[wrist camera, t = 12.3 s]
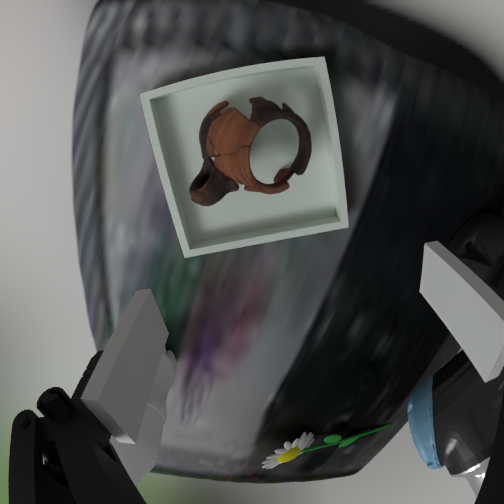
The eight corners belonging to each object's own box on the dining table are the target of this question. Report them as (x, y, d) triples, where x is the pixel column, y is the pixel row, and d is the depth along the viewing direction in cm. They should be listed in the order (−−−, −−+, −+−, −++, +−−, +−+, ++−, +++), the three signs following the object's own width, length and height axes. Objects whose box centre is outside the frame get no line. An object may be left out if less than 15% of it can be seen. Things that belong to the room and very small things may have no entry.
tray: (318, 60, 25) (324, 56, 23) (341, 219, 33) (348, 227, 30) (147, 95, 26) (139, 94, 24) (188, 247, 34) (184, 257, 31)
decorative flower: (393, 401, 53) (257, 435, 49) (402, 417, 49) (261, 456, 45) (377, 427, 59) (257, 456, 56) (384, 442, 55) (261, 474, 51)
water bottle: (166, 373, 43) (137, 519, 21) (126, 352, 41) (77, 498, 19) (187, 349, 41) (159, 516, 18) (143, 326, 39) (88, 492, 16)
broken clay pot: (231, 75, 26) (281, 76, 20) (283, 133, 32) (335, 150, 26) (152, 169, 26) (178, 197, 21) (217, 215, 33) (256, 250, 27)
